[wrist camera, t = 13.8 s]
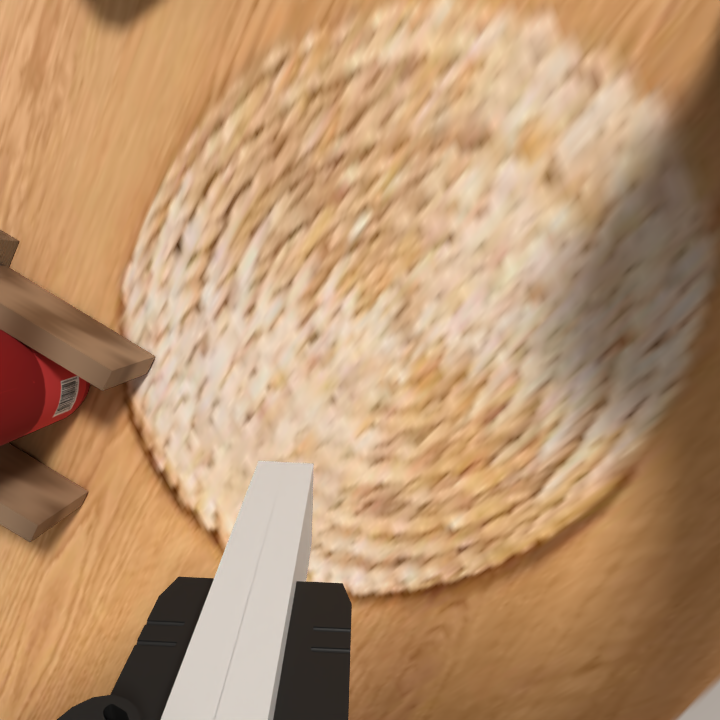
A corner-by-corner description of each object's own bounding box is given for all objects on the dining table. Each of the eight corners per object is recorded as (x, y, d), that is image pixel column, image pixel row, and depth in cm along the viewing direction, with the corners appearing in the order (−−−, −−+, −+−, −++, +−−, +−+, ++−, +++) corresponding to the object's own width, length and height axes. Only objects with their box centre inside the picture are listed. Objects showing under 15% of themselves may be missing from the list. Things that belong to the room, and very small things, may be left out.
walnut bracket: (155, 356, 34) (111, 370, 29) (80, 506, 37) (29, 542, 32) (5, 265, 33) (-64, 264, 29) (-57, 423, 36) (-130, 446, 32)
